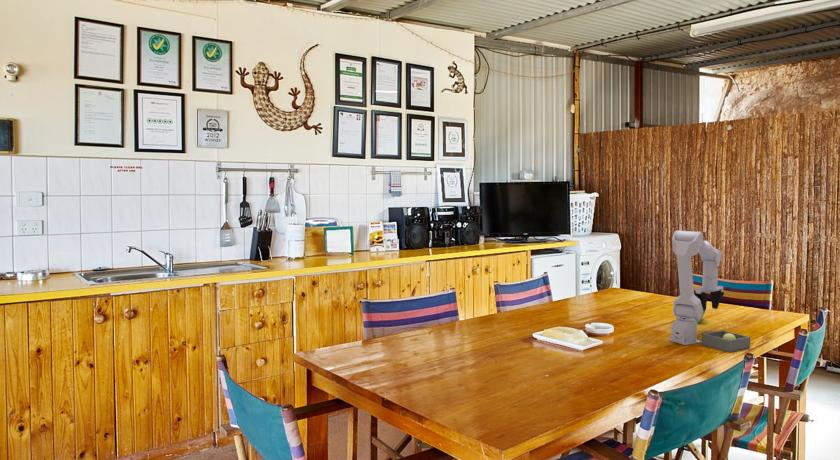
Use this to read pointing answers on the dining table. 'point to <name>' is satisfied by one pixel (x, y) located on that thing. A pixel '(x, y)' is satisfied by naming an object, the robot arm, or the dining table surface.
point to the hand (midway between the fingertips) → (708, 309)
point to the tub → (725, 341)
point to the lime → (729, 336)
